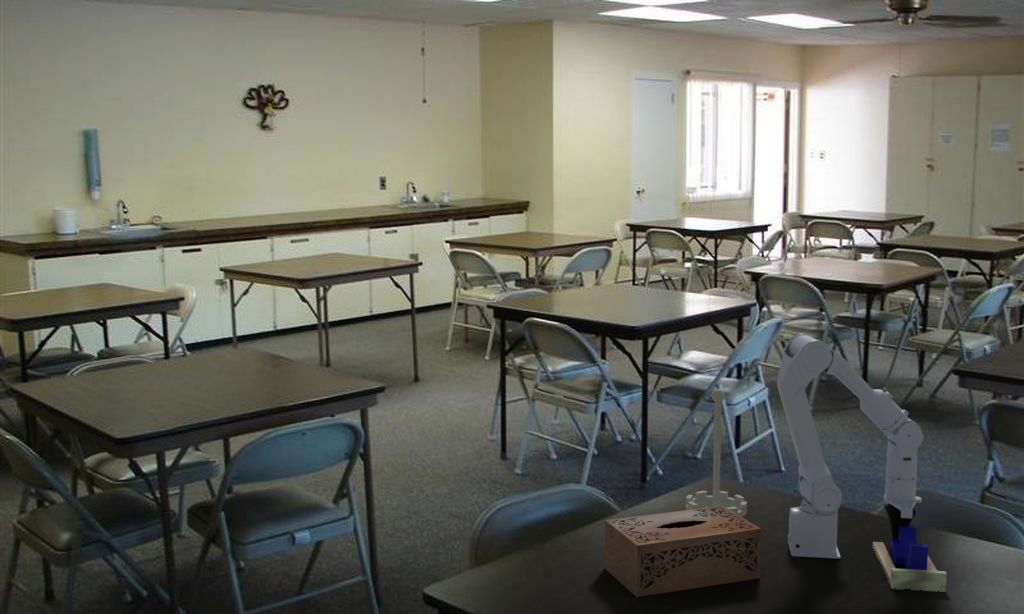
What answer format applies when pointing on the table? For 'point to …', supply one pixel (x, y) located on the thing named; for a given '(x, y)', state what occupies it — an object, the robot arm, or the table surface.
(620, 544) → the tissue box cover
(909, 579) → the channel
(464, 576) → the table surface
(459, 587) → the table surface
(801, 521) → the robot arm
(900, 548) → the blue stepped block
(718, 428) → the flag stand
